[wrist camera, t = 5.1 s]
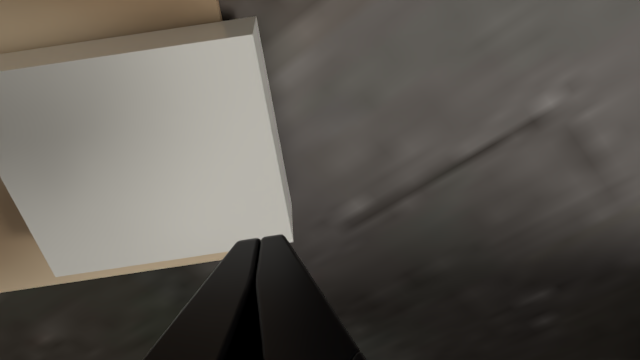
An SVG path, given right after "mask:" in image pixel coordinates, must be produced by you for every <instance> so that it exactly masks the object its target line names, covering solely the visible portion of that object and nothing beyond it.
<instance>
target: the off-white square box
mask: <svg viewBox="0 0 640 360" xmlns="http://www.w3.org/2000/svg"><path fill="white" fill-rule="evenodd" d="M0 177H1V179H2V181H3V183H4V185H5V186H6V188H7V190H8V192H9V194H10V195H11V197H12V199H13V201H14V203H15V205H16V206H17V208H18V210H19V212H20V214H21V215H22V217H23V219H24V221H25V223H26V225H27V226H28V228H29V230H30V232H31V234H32V235H33V237H34V239H35V241H36V243H37V245H38V246H39V248H40V250H41V252H42V254H43V255H44V257H45V259H46V261H47V263H48V265H49V266H50V268H51V270H52V272H53V274H54V275H55V277H60V276H67V275H74V274H80V273H87V272H94V271H100V270H107V269H114V268H121V267H127V266H134V265H141V264H148V263H154V262H161V261H168V260H175V259H181V258H188V257H195V256H201V255H208V254H215V253H222V252H228V251H230V249H231V248H232V247H233V246H234V244H235V243H236V242H237V241H240V240H245V239H252V238H259V239H260V240H261V239H262V238H263V237H266V236H272V235H279V234H282V235H284V236H285V237H286V239H287V240H288V242H293V225H292V204H291V199H290V193H289V188H288V183H287V177H286V172H285V167H284V161H283V156H282V151H281V146H280V140H279V135H278V130H277V124H276V119H275V114H274V108H273V103H272V98H271V92H270V87H269V82H268V76H267V71H266V66H265V61H264V55H263V50H262V45H261V39H260V34H259V29H258V23H257V18H256V16H254V17H248V18H241V19H234V20H227V21H220V22H214V23H207V24H200V25H193V26H186V27H180V28H173V29H166V30H159V31H152V32H146V33H139V34H132V35H125V36H118V37H112V38H105V39H98V40H91V41H84V42H78V43H71V44H64V45H57V46H50V47H44V48H37V49H30V50H23V51H16V52H10V53H3V54H0Z"/></svg>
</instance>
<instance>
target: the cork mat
mask: <svg viewBox="0 0 640 360" xmlns="http://www.w3.org/2000/svg"><path fill="white" fill-rule="evenodd" d="M220 21H223V20H222V15H221V11H220V6H219V2H218V0H0V54H3V53H10V52H16V51H23V50H30V49H37V48H44V47H50V46H57V45H64V44H71V43H78V42H84V41H91V40H98V39H105V38H112V37H118V36H125V35H132V34H139V33H146V32H152V31H159V30H166V29H173V28H180V27H186V26H193V25H200V24H207V23H214V22H220ZM228 252H229V251H228ZM228 252H222V253H215V254H208V255H201V256H195V257H188V258H181V259H175V260H168V261H161V262H154V263H148V264H141V265H134V266H127V267H121V268H114V269H107V270H100V271H94V272H87V273H80V274H74V275H67V276H60V277H55V275H54V274H53V272H52V270H51V268H50V266H49V265H48V263H47V261H46V259H45V257H44V255H43V254H42V252H41V250H40V248H39V246H38V245H37V243H36V241H35V239H34V237H33V235H32V234H31V232H30V230H29V228H28V226H27V225H26V223H25V221H24V219H23V217H22V215H21V214H20V212H19V210H18V208H17V206H16V205H15V203H14V201H13V199H12V197H11V195H10V194H9V192H8V190H7V188H6V186H5V185H4V183H3V181H2V179H1V177H0V293H2V292H9V291H15V290H22V289H29V288H36V287H42V286H49V285H56V284H63V283H69V282H76V281H83V280H90V279H96V278H103V277H110V276H117V275H123V274H130V273H137V272H143V271H150V270H157V269H164V268H170V267H177V266H184V265H191V264H197V263H204V262H211V261H218V260H222V259H223V258H224V257H225V256H226V254H227V253H228Z"/></svg>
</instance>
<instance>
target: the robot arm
mask: <svg viewBox="0 0 640 360" xmlns="http://www.w3.org/2000/svg"><path fill="white" fill-rule="evenodd" d="M142 360H366V358H365V357H364V355H363V354H362V353H360V350H359V348H358V347H357V345H356V344H355V342H354V341H353V339H352V338H351V336H350V335H349V333H348V332H347V330H346V328H345V327H344V325H343V324H342V322H341V321H340V319H339V318H338V316H337V315H336V313H335V312H334V310H333V309H332V307H331V306H330V304H329V303H328V301H327V300H326V298H325V296H324V295H323V293H322V292H321V290H320V289H319V287H318V286H317V284H316V283H315V281H314V280H313V278H312V277H311V275H310V274H309V272H308V271H307V269H306V268H305V266H304V264H303V263H302V261H301V260H300V258H299V257H298V255H297V254H296V252H295V251H294V249H293V248H292V246H291V245H290V243H289V242H288V240H287V239H286V237H285V236H284V235H282V234H279V235H272V236H266V237H263V238H262V239H261V240H260V239H259V238H252V239H245V240H240V241H237V242H236V243H235V244H234V246H233V247H232V248H231V249H230V251H229V252H228V253H227V254H226V256H225V257H224V258H223V259H222V261H221V262H220V263H219V264H218V266H217V267H216V268H215V269H214V271H213V272H212V273H211V274H210V276H209V277H208V278H207V279H206V281H205V282H204V283H203V284H202V286H201V287H200V288H199V289H198V291H197V292H196V293H195V294H194V296H193V297H192V298H191V299H190V301H189V302H188V303H187V304H186V306H185V307H184V308H183V309H182V311H181V312H180V313H179V314H178V316H177V317H176V318H175V319H174V321H173V322H172V323H171V324H170V326H169V327H168V328H167V329H166V331H165V332H164V333H163V334H162V336H161V337H160V338H159V339H158V341H157V342H156V343H155V344H154V346H153V347H152V348H151V349H150V351H149V352H148V353H147V354H146V356H145V357H144V358H143V359H142Z"/></svg>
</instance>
